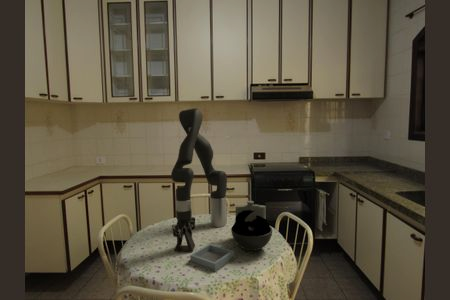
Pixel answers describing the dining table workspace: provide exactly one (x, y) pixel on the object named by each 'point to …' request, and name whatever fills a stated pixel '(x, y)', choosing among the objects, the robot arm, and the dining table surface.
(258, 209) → the hip flask
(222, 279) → the dining table surface
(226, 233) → the dining table surface
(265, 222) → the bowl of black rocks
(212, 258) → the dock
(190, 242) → the phone stand
